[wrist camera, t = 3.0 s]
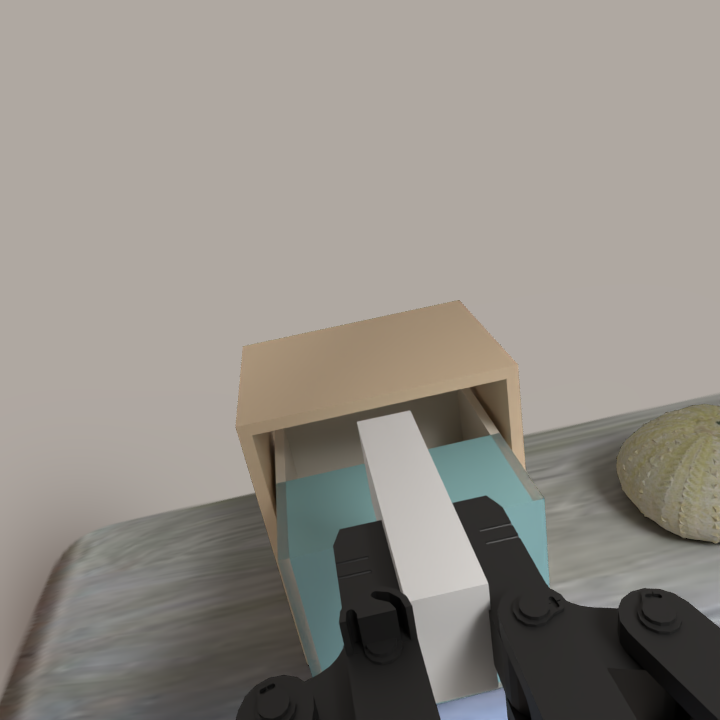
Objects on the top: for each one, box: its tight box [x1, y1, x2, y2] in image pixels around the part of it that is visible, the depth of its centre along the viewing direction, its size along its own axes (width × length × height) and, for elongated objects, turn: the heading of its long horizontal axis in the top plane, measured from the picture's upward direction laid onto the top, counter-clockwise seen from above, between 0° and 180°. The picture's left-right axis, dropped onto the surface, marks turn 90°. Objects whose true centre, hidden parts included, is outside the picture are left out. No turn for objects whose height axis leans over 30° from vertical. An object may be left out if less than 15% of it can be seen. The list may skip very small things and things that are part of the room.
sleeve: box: [236, 300, 526, 665], centre depth 30 cm, size 8×11×13 cm
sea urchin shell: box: [616, 404, 720, 544], centre depth 33 cm, size 9×8×8 cm
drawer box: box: [275, 387, 550, 704], centre depth 28 cm, size 10×9×9 cm
